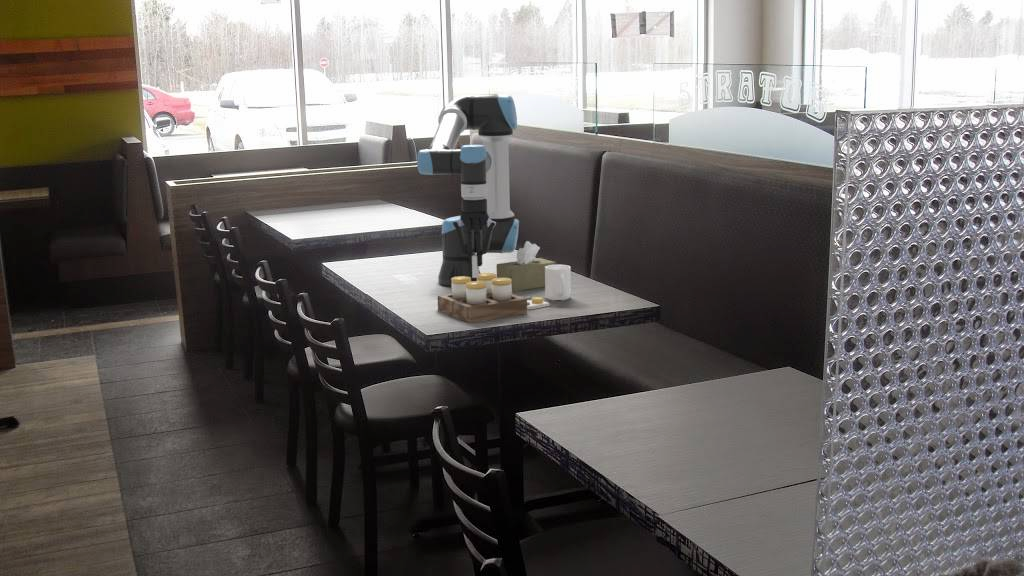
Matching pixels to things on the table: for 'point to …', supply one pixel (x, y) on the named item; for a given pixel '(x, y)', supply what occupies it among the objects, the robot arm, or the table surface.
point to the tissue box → (525, 269)
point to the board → (482, 308)
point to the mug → (557, 282)
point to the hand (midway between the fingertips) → (475, 276)
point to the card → (535, 302)
